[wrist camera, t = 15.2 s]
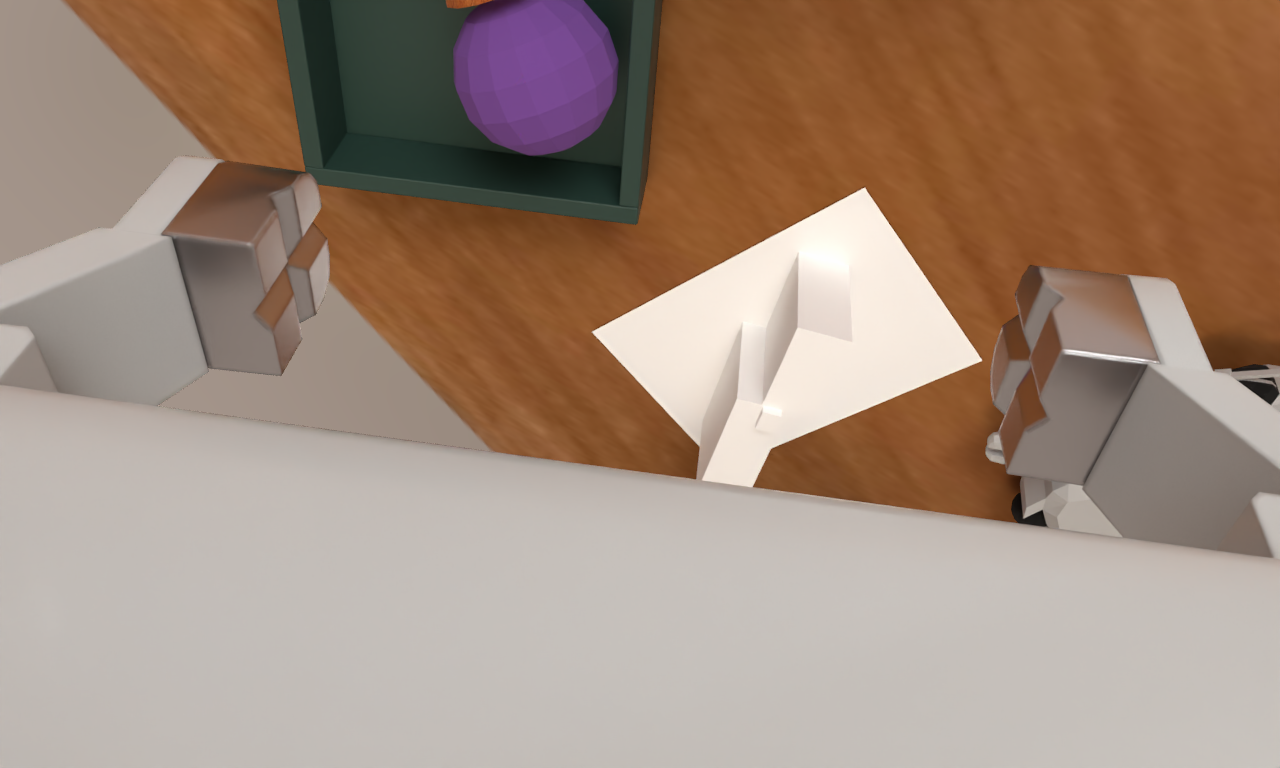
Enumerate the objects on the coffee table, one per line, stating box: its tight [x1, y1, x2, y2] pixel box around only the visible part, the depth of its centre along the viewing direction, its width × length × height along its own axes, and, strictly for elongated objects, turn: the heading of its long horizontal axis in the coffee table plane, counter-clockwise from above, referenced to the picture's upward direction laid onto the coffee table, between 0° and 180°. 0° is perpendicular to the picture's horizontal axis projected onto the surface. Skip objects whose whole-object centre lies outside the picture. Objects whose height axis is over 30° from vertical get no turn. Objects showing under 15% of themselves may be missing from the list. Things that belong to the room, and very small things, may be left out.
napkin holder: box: [592, 188, 982, 487], centre depth 48 cm, size 15×11×6 cm
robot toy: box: [986, 364, 1280, 538], centre depth 50 cm, size 12×4×15 cm
